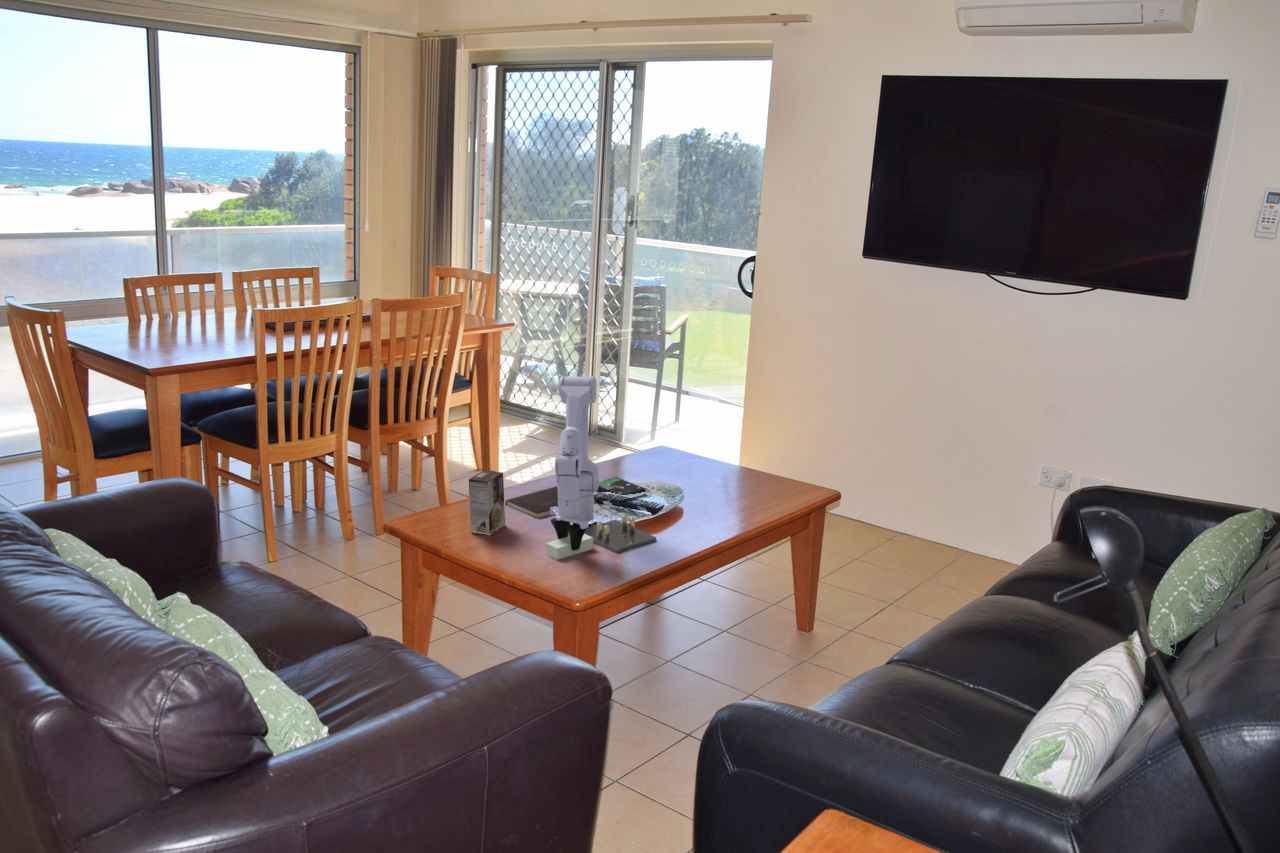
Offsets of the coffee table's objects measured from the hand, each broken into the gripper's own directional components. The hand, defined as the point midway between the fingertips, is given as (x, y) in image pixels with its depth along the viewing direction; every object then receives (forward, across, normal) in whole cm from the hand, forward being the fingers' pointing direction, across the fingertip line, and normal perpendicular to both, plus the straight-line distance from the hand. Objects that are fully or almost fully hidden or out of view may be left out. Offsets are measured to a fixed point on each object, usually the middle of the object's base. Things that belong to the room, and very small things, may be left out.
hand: (569, 546), depth 276 cm
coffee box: (+2, -28, -8) cm, 29 cm away
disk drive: (+2, -30, +41) cm, 51 cm away
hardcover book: (+2, -35, +19) cm, 40 cm away
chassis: (+1, 0, +16) cm, 16 cm away
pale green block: (+2, 0, 0) cm, 2 cm away
